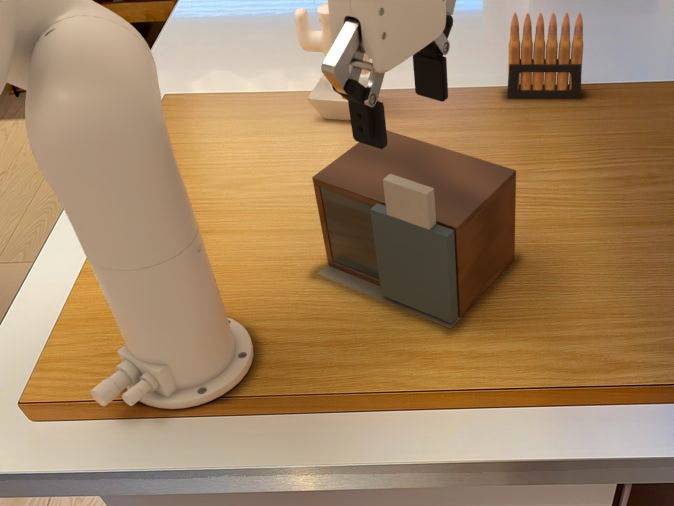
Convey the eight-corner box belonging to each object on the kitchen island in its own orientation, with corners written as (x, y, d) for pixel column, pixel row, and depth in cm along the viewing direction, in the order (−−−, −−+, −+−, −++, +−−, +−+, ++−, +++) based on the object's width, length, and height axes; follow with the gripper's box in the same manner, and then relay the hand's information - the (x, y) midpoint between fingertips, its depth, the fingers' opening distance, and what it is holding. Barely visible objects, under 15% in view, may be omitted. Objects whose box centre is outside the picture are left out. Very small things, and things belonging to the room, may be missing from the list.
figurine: (368, 127, 114) (355, 19, 103) (303, 122, 115) (284, 15, 105) (381, 102, 119) (370, -3, 109) (319, 98, 120) (302, -7, 110)
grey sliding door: (451, 324, 85) (445, 200, 74) (381, 295, 88) (365, 173, 77) (458, 317, 85) (452, 194, 75) (387, 289, 89) (372, 167, 78)
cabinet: (450, 329, 85) (445, 238, 76) (317, 275, 91) (299, 186, 83) (514, 259, 93) (516, 170, 85) (388, 214, 99) (378, 127, 91)
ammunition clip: (507, 98, 119) (507, 15, 111) (507, 92, 121) (508, 10, 112) (580, 98, 119) (587, 15, 111) (580, 92, 120) (586, 10, 112)
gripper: (408, -137, 66) (422, 70, 78) (261, -73, 55) (304, 154, 67) (489, -124, 63) (490, 88, 75) (350, -54, 52) (378, 179, 65)
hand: (402, 119), depth 71 cm, fingers open, 8 cm apart
